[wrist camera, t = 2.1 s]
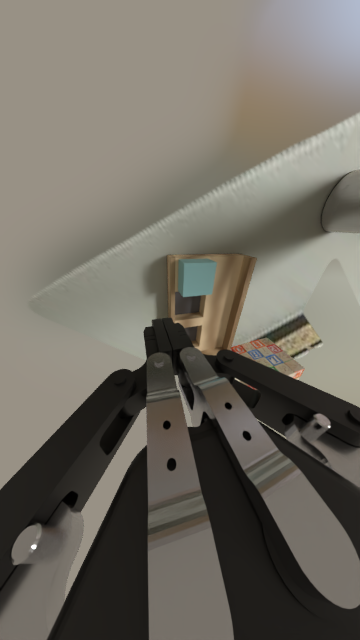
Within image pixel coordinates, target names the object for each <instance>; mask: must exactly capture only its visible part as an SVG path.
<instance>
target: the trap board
mask: <svg viewBox="0 0 360 640" xmlns="http://www.w3.org/2000/svg"><path fill="white" fill-rule="evenodd" d="M179 259H210V260H213V261H215V262H217V266H216V272H215V279H214V285H213V292H212V294H211V295H200V296H189V297H183V296H182V295H181V294H180V292H179V291H178V263H179ZM256 260H257V258H255V257H251V256H247V255H243V254H194V255H167V270H168V318H170V317H171V318H172V320H173V322H174V323H180V324H181V325H182V326H183V327H184V329H185V331H186V332H187V335H188V336H189V338H190V340H191V342H192V344H193V345H194V347H195V348H197V349H199V350H200V351H201V352H202V354H206V355H217V353H218V351H220V350H224V349H227V350H231V346H232V343H233V339H234V336H235V332H236V329H237V326H238V322H239V319H240V315H241V312H242V308H243V305H244V301H245V298H246V294H247V291H248V287H249V284H250V280H251V277H252V273H253V270H254V267H255V263H256Z"/></svg>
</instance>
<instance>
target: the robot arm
mask: <svg viewBox="0 0 360 640" xmlns="http://www.w3.org/2000/svg"><path fill="white" fill-rule="evenodd" d="M322 226H323V228H324V229H325V231H328V232H344V233H360V170H356V171H353V172H351V173H349V174H348V175H346V176H345V177H344V178H343V179H342V180H341V181H340V182H339V183H338V184H337V185H336V187H335V188H334V189H333V191H332V192H331V194H330V196H329V198H328V200H327V202H326V204H325V207H324V210H323V214H322ZM144 340H145V347H146V355H147V360H146V362H145V364H144V365H143V366H142V367H140V368H139V369H137V370H135V371H133V372H131V371H130V370H127V369H120V370H118V371H115V372H113V373H112V374H110V376H108V378H106V380H105V381H104V382H103V383H102V384H101V385H100V386H99V387H98V388H97V389H96V390H95V391H94V392H93V393H92V394H91V395H90V396H89V397H88V398H87V399H86V401H85V402H84V403H83V404H82V405H81V406H80V407H79V408H78V409H77V410H76V411H75V412H74V413H73V414H72V415H71V416H70V417H69V418H68V419H67V420H66V421H65V423H64V424H63V425H62V426H61V427H60V428H59V429H58V430H57V431H56V432H55V433H54V434H53V435H52V436H51V437H50V439H48V440H47V441H46V442H45V444H44V445H43V446H42V447H41V448H40V449H39V450H38V451H37V452H36V453H35V454H34V455H33V456H32V457H31V458H30V459H29V460H28V461H27V462H26V463H25V464H24V466H23V467H22V468H21V469H20V470H19V471H18V472H17V473H16V474H15V475H14V476H13V477H12V478H11V479H10V480H9V481H8V482H7V483H6V484H5V485H4V486H3V488H2V489H1V490H0V640H360V408H359V407H357V406H355V405H353V404H351V403H349V402H346V401H344V400H342V399H340V398H337V397H335V396H333V395H331V394H328V393H326V392H324V391H322V390H319V389H317V388H315V387H313V386H310V385H308V384H306V383H303V382H301V381H299V380H297V379H294V378H292V377H290V376H288V375H285V374H283V373H281V372H279V371H276V370H274V369H272V368H270V367H267V366H265V365H263V364H261V363H258V362H256V361H254V360H252V359H249V358H247V357H245V356H243V355H240V354H238V353H236V352H234V351H231V350H227V349H224V350H220V351H218V353H217V355H206V354H202V352H201V351H200V350H199V349H197V348H195V347H194V345H193V344H192V342H191V340H190V338H189V336H188V335H187V332H186V331H185V329H184V327H183V326H182V325H181V324H180V323H174V322H173V320H172V318H171V317H170V318H162V319H154V320H152V326H151V327H146V328H145V330H144ZM174 375H178V378H179V387H180V389H181V392H182V394H183V397H184V399H185V402H186V405H187V407H188V409H189V412H190V415H191V420H192V425H193V427H187V423H186V419H185V414H184V410H183V405H182V400H181V396H180V392H179V390H177V386H176V381H175V376H174ZM235 378H236V379H238V380H240V381H242V382H244V383H246V384H248V385H250V386H251V387H253V388H255V389H257V390H254V389H252V388H250V387H248V386H247V385H245V384H243V383H241V382H239V381H237V380H235ZM145 407H146V410H147V411H146V412H147V445H146V446H145V447H144V448H143V449H142V450H141V451H140V452H139V453H138V454H137V456H136V457H135V459H134V460H133V461H132V463H131V465H130V466H129V468H128V470H127V472H126V474H125V476H124V478H123V480H122V482H121V484H120V486H119V489H118V490H117V493H116V495H115V497H114V499H113V501H112V503H111V505H110V507H109V510H108V512H107V514H106V516H105V518H104V520H103V522H102V524H101V526H100V528H99V531H98V533H97V535H96V537H95V539H94V541H93V543H92V545H91V547H90V549H89V551H88V554H87V556H86V558H85V560H84V562H83V564H82V566H81V568H80V570H79V573H78V575H77V577H76V579H75V581H74V583H73V585H72V587H71V590H70V591H69V594H68V596H67V598H66V600H65V602H64V597H65V588H66V583H67V579H68V575H69V571H70V569H71V566H72V564H73V561H74V559H75V556H76V554H77V552H78V550H79V547H80V544H81V540H82V536H83V527H84V524H83V517H82V515H81V513H80V512H81V511H82V509H83V507H84V506H85V504H86V502H87V501H88V499H89V497H90V495H91V494H92V492H93V490H94V489H95V487H96V485H97V484H98V482H99V480H100V479H101V477H102V475H103V474H104V472H105V470H106V469H107V467H108V465H109V463H110V462H111V460H112V459H113V457H114V455H115V454H116V452H117V450H118V448H119V447H120V445H121V443H122V442H123V440H124V438H125V437H126V435H127V433H128V432H129V430H130V428H131V427H132V425H133V423H134V422H135V420H136V418H137V417H138V415H139V413H140V411H141V410H142V409H144V408H145ZM256 418H257V419H258V420H260V421H261V422H263V423H265V424H266V425H268V426H270V427H271V428H273V429H274V430H276V431H278V432H279V433H281V434H283V435H284V436H286V438H287V439H285V438H284V437H282V436H281V435H279V434H277V433H276V432H274V431H273V430H271V429H270V428H268V427H267V426H265V425H264V424H262V423H261V422H259V421H257V419H256Z"/></svg>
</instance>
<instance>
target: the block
mask: <svg viewBox="0 0 360 640" xmlns="http://www.w3.org/2000/svg"><path fill="white" fill-rule="evenodd" d="M216 266H217V262H215V261H213V260H210V259H179V263H178V291H179V292H180V294H181V295H182V296H183V297H189V296H200V295H211V294H212V292H213V285H214V279H215V272H216Z"/></svg>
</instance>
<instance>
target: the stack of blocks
mask: <svg viewBox="0 0 360 640" xmlns="http://www.w3.org/2000/svg"><path fill="white" fill-rule="evenodd" d="M231 351H234V352H236V353H238V354H240V355H243V356H245V357H247V358H249V359H252V360H254V361H256V362H258V363H261V364H263V365H265V366H267V367H270V368H272V369H274V370H276V371H279V372H281V373H283V374H285V375H288V376H290V377H292V378H294V379H297V380H298V379H299V378H300V376H301V374H302V373H303V371H304V369H305V368H304V367H303V366H301V365H300V364H299V363H298V362H296V361H295V360H294V359H293V358H292V357H290V356H289V355H288V354H287V353H285V352H284V351H283V350H281V349H280V348H279V347H278V346H276V345H275V344H274V343H273V342H272V341H270V340H269V339H268V338H264V339H260V340H256V341H252V342H248V343H245V344H241V345H238V346H235V347H232V348H231ZM235 380H237V381H239V382H241V383H243V384H245V385H247V386H248V387H250V388H252V389H254V390H257V389H255V388H253V387H251V386H250V385H248V384H246V383H244V382H242V381H240V380H238V379H236V378H235Z"/></svg>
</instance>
